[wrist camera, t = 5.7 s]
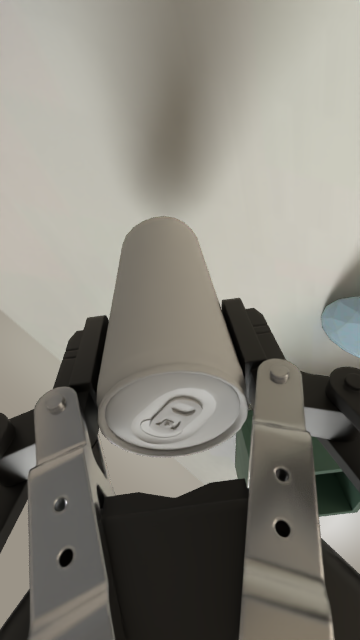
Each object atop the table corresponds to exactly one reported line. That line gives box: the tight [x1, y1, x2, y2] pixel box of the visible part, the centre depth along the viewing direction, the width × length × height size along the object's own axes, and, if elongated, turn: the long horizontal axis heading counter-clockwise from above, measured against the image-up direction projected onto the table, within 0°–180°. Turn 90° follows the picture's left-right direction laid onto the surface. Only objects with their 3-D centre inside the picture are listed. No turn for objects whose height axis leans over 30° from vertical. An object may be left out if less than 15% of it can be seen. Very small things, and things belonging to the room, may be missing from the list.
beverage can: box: [97, 216, 249, 457], centre depth 13 cm, size 5×5×12 cm
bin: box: [235, 410, 360, 517], centre depth 36 cm, size 15×15×8 cm
